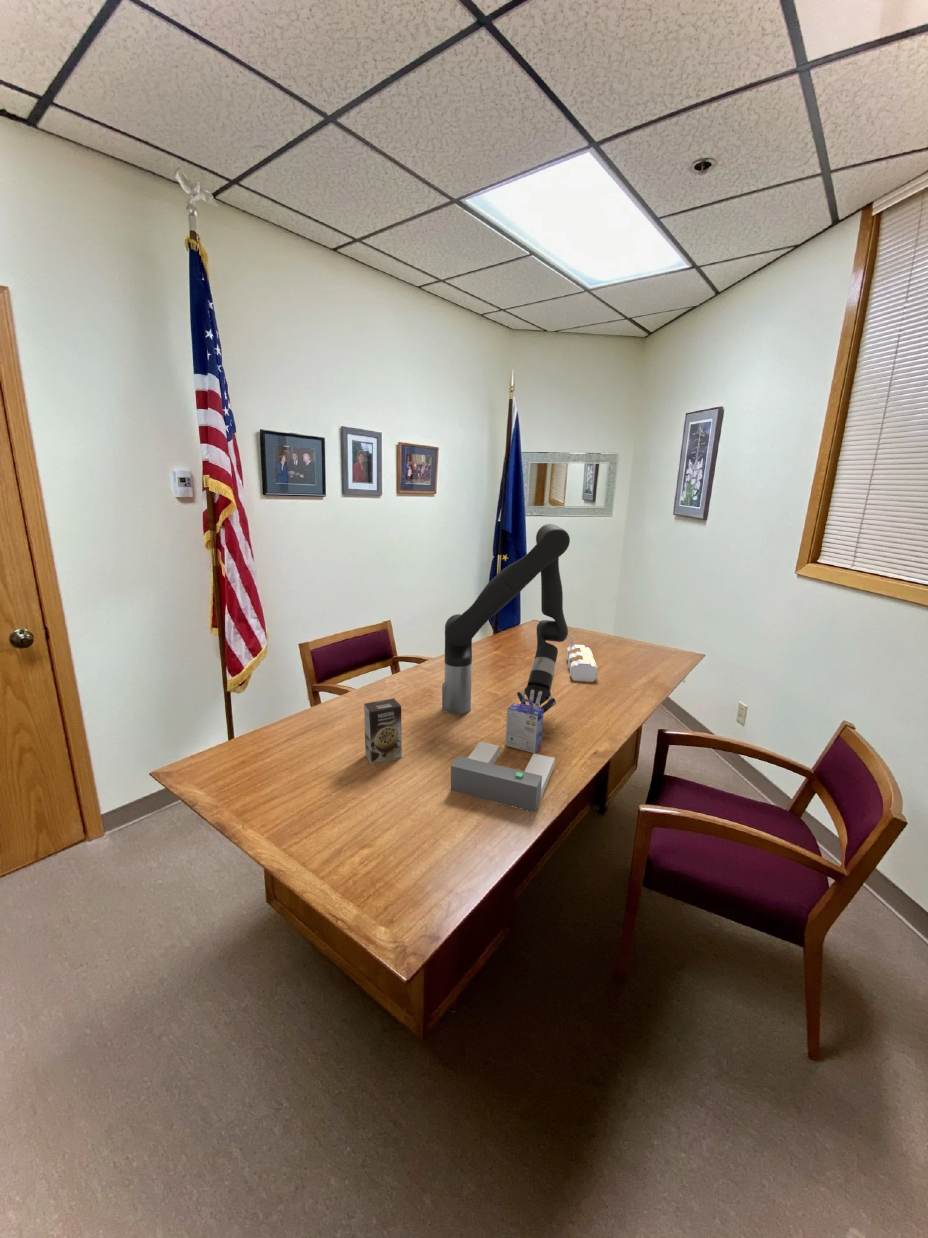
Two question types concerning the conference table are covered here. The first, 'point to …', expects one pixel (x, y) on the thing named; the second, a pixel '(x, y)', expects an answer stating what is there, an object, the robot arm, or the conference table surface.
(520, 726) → the ink cartridge box
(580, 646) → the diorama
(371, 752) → the dessert mix box
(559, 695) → the conference table surface
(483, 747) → the charging dock
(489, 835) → the conference table surface
